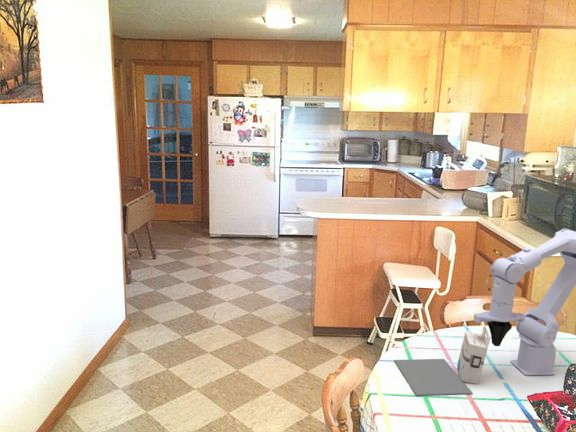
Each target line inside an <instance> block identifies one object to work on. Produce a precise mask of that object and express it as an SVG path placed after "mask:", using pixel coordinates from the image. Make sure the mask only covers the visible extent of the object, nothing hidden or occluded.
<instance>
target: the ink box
mask: <svg viewBox="0 0 576 432" xmlns="http://www.w3.org/2000/svg"><path fill="white" fill-rule="evenodd" d="M490 341H491V335H490V334H489V331H488V330H487V327H486V326H485V325H483V328H482V333H481V334H480V333H476V332H472V331H468V330H466V331H465V332H464V337H463V341H462V345H461V348H460V353H459V357H458V360H457V365H456V366H457V370H458V375H459V377H460V378H461V381H463V382H466V383H471V384H476V385H478V384H479V382H480V378H481V375H482V371H483V366H484V363H485V360H486V357H487V351H488V347H489V344H490Z"/></svg>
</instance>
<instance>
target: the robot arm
mask: <svg viewBox="0 0 576 432" xmlns="http://www.w3.org/2000/svg"><path fill="white" fill-rule="evenodd" d="M556 254H560V257H561V258H562V259H563V261H564V264H563V265H562V267H561V269H560V271H559V272H558V274H557V275H556V277H555V278H554V281H553V282H552V283H551V285H550V286H549V288H548V290H547V291H546V293H545V294H544V296H543V298H542V299H541V301H540V302H539V303H538V305H537V307H533V308H529V309H527V310H526V311H525V313H524V314H523V313H519V312H513V309H514V303H515V302H514V301H515V294H516V289H517V283H519V282H520V281H521V279H523V276H525V275H526V273H528V272H529V271H531V270H533V269H535V268H538V267H539V266H540V265H541V264H542V261H543V260H545V259H546V258H549V257H552V256H554V255H556ZM491 265H492V266H490V273H491V275H492V282H493V284H492V290H491V298H490V299H491V300H490V306H489V311H484V312H480V313H474V315H473V321H474V322H475V323H476V324H480V323H487V324H486V325H487V326H488V329H489V333H490V340H491V344H493V346H494V347H500V346H501V345H502V344H501V343H502V342H503V340H504V338H505V337H506V335H507V333H508V332H510V330H512V328H513V325H512V323H510V322H516V325H515V329H516V331H517V333H518V334H519V335H518V337H519V338H520V340H519V346H518V347H519V348H518V354H517V359H511V360H510V361H509V362H510V363H511V364H512V365H513V366H514V367H515V368H516V369H518V370H519V371H520V372H521V374H523V375H524V376H552V375H553V376H554V375H555V372H554V369H555V360H556V357H557V352H556V351H557V350H556V347H555V345H554V343H555V341H556V338H557V335H558V333H559V330H560V325H559V322H558V320H557V319H556V317H557V316H558V314H559V312H560V311H561V309H562V308H563V306H564V304H565V303H566V302H567V300H568V299H569V296H570V295H571V294H572V292H573V290H574V289H575V287H576V230H571V229H569V228H562V229H560V230H558V231H555V234H554V235H553V237H552V238H551V239H549V240H547V241H546V242H543V243H541V245H538V246H537V247H535V248H532V247H524V248H523V249H522V250H520V251H519V252H517V253H515V254H511V255H509V256H508V257H500V258H497V259H495V260H494V261H493V263H492V264H491Z"/></svg>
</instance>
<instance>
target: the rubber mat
mask: <svg viewBox="0 0 576 432" xmlns="http://www.w3.org/2000/svg"><path fill="white" fill-rule="evenodd" d="M393 362H394V364H395V365H396V366H397V368H398V370H399V372H400V373H401V374H402V376H403V378H404V379H405V381H406V383H407V384H408V385H409V387H410V389H411V391H412V392H413V394H414V395H415V396H416V397H426V396H427V397H428V396H456V395H457V396H458V395H462V396H463V395H473V394H474V393H473V391H472V390H471V389H470V388H469V387H468V386H467V384H466V383H465V381H461V378H460V375H459V374H457V373H456V371H455V370H454V369H453V367H451V365H450V364H449V363H448V362H447V361H446V359H445V358H428V359H427V358H426V359H425V358H424V359H423V358H419V359H417V358H416V359H394V360H393Z"/></svg>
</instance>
